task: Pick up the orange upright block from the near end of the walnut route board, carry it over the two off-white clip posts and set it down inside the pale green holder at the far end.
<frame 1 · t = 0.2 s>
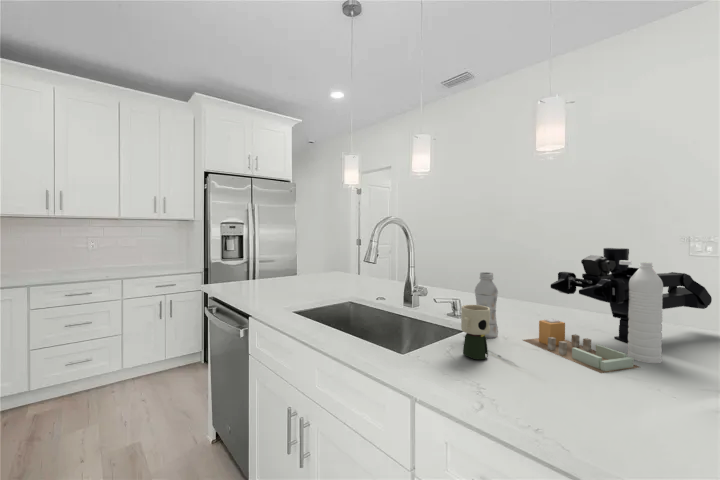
hand: (564, 288, 94), 17 cm above the worktop, tool horizontal, fingers open, 9 cm apart
orange upright block: (551, 342, 97), point 1 cm above the worktop, touching route board
plastic bottle: (486, 339, 104), on the worktop
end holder: (592, 358, 84), resting on route board
character mug: (475, 357, 89), on the worktop
route board: (575, 356, 89), on the worktop
water bottle: (638, 362, 86), on the worktop
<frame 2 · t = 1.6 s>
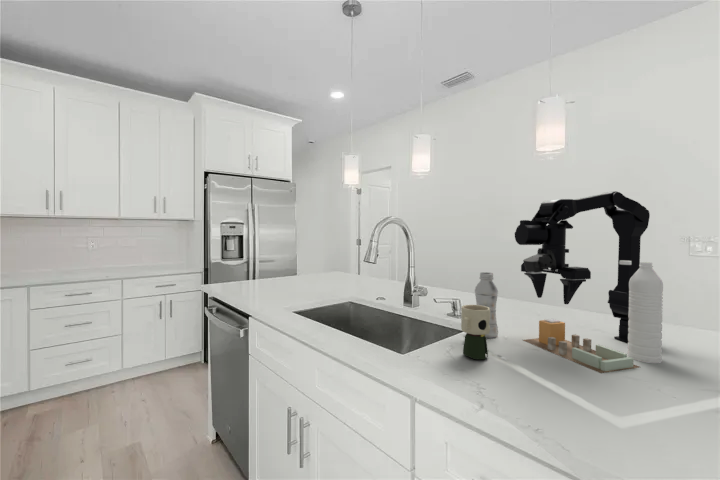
hand: (552, 300, 96), 13 cm above the worktop, tool pointing down, fingers open, 9 cm apart
nothing on the worktop moved.
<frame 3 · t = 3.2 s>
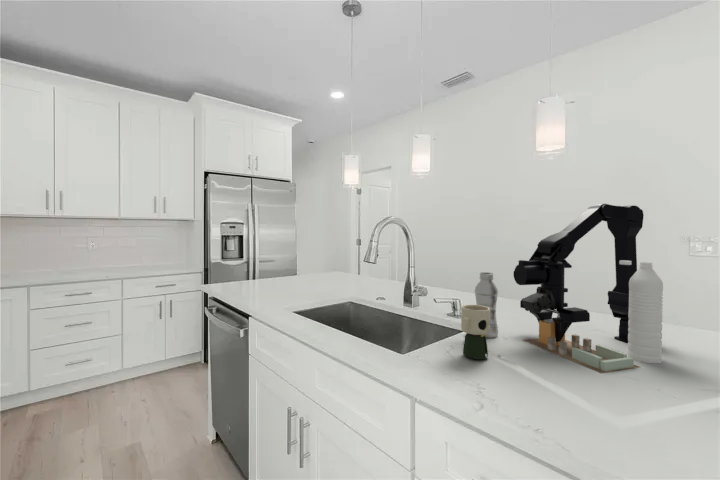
hand: (551, 339, 96), 2 cm above the worktop, tool pointing down, fingers closed on orange upright block, 4 cm apart
orange upright block: (551, 342, 97), point 1 cm above the worktop, touching gripper, route board
everything else where it was.
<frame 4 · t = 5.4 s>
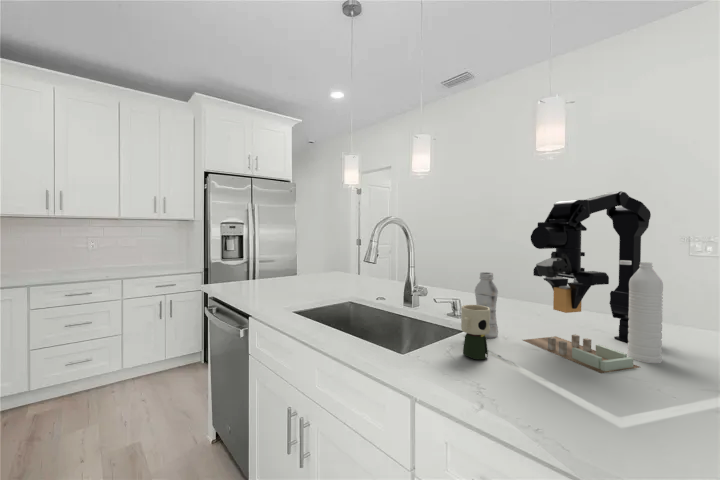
hand: (567, 306, 91), 13 cm above the worktop, tool pointing down, fingers closed on orange upright block, 4 cm apart
orange upright block: (567, 310, 91), point 11 cm above the worktop, touching gripper
everything else where it was.
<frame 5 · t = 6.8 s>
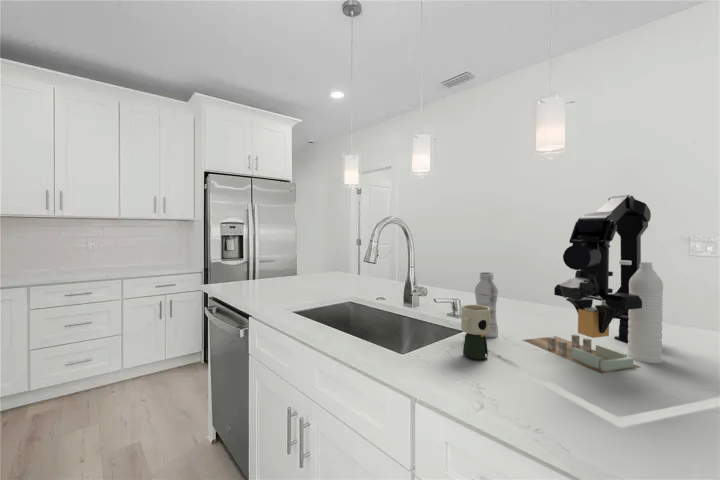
hand: (593, 330, 84), 8 cm above the worktop, tool pointing down, fingers closed on orange upright block, 4 cm apart
orange upright block: (593, 334, 84), point 7 cm above the worktop, touching gripper
everything else where it was.
when the fingers open (4 cm above the worktop, at t = 7.8 s): orange upright block drops 2 cm, resting on route board.
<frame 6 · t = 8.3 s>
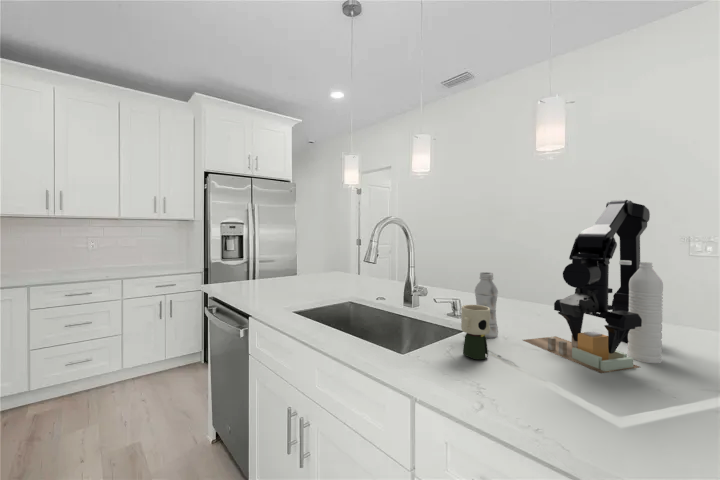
hand: (593, 346, 84), 4 cm above the worktop, tool pointing down, fingers open, 9 cm apart
orange upright block: (592, 358, 84), point 1 cm above the worktop, touching route board
everything else where it was.
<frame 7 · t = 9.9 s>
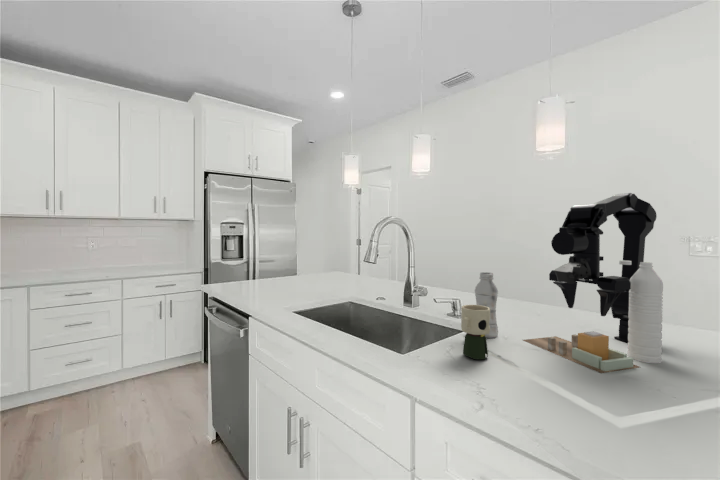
hand: (586, 311, 90), 11 cm above the worktop, tool pointing down, fingers open, 9 cm apart
nothing on the worktop moved.
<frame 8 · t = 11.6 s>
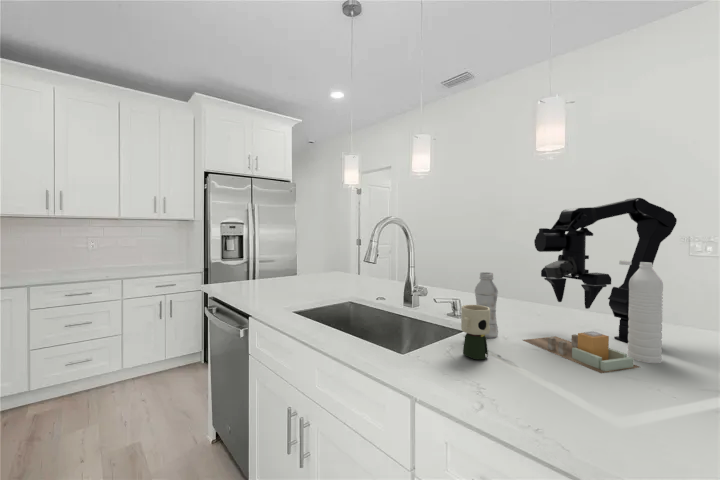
hand: (572, 305, 100), 11 cm above the worktop, tool pointing down, fingers open, 9 cm apart
nothing on the worktop moved.
at the end: orange upright block 0.0 cm off-centre on the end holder, point 0.0 cm above the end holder's base; orange upright block tilted 0°; the gripper is holding nothing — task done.
